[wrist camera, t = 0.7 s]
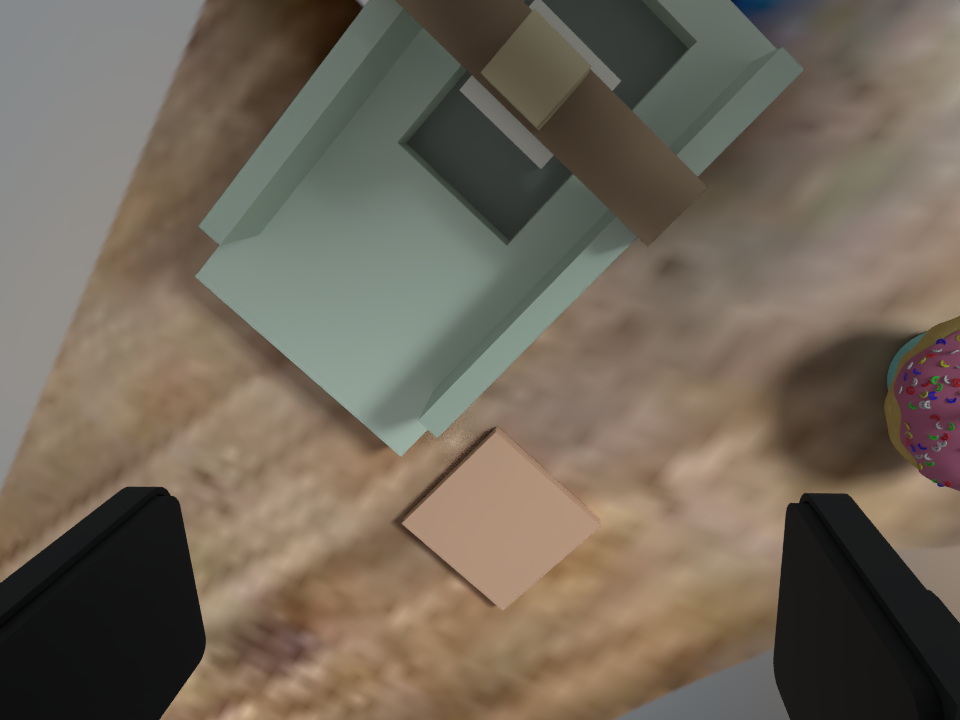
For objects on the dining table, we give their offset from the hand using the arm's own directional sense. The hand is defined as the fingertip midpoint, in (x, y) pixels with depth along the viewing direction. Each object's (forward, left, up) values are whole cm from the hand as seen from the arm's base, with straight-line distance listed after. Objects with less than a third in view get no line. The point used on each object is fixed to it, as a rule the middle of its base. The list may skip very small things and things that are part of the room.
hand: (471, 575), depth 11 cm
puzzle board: (-2, -6, -27) cm, 27 cm away
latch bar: (-7, -6, -20) cm, 22 cm away
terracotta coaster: (+11, +8, -27) cm, 30 cm away
